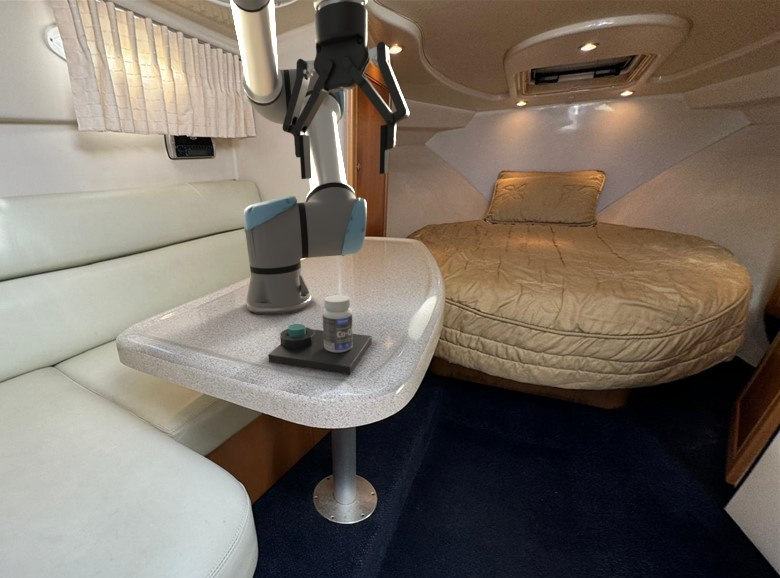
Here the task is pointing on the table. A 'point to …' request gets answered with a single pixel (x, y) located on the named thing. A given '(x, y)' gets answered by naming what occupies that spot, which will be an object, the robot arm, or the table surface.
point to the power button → (296, 330)
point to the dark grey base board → (318, 352)
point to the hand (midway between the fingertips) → (343, 176)
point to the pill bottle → (337, 324)
